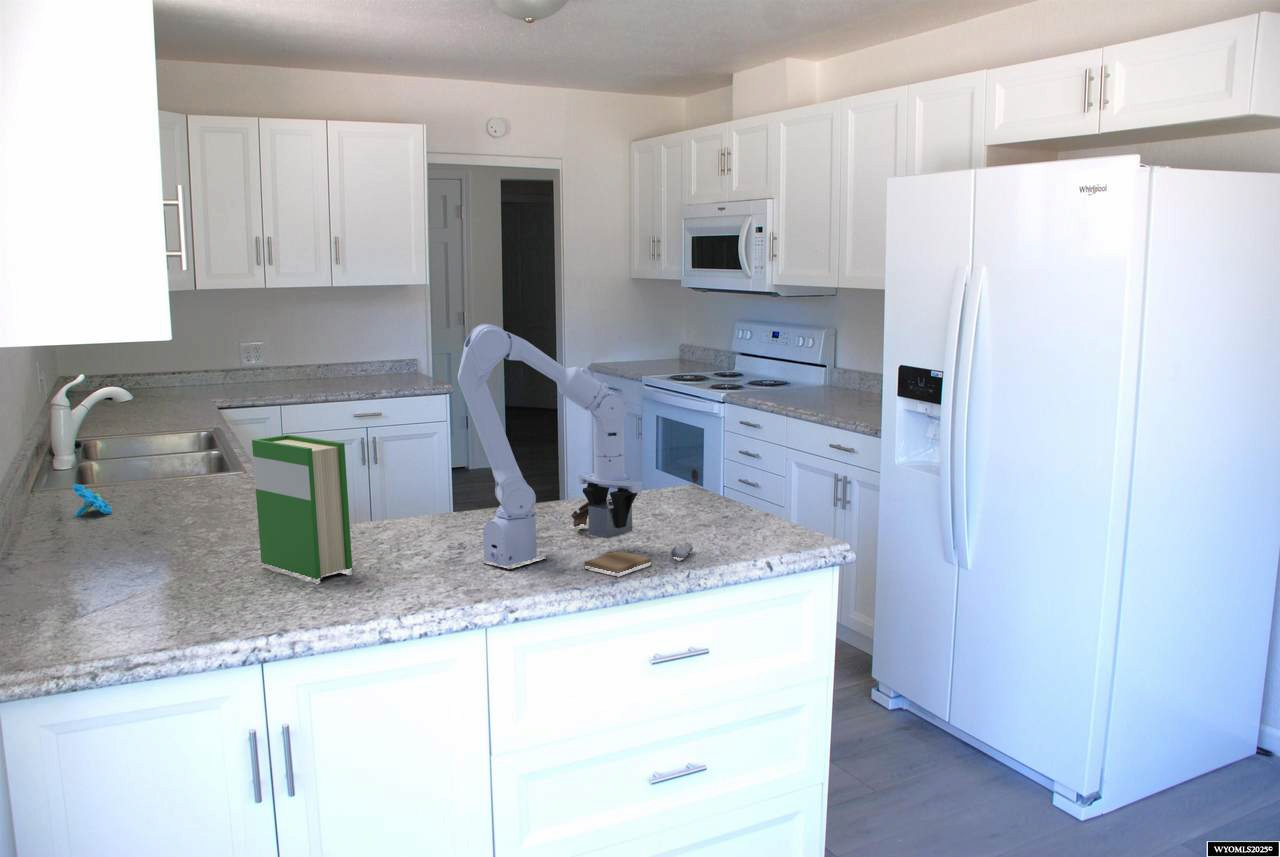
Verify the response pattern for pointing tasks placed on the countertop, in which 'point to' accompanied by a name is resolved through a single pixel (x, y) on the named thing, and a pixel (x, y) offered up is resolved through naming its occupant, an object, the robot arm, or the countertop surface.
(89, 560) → the countertop surface
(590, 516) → the block
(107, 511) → the blue fuzzy irregular piece
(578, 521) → the brown irregular piece
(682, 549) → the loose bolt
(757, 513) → the countertop surface
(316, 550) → the hardback book
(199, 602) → the countertop surface
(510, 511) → the robot arm
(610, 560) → the stand
